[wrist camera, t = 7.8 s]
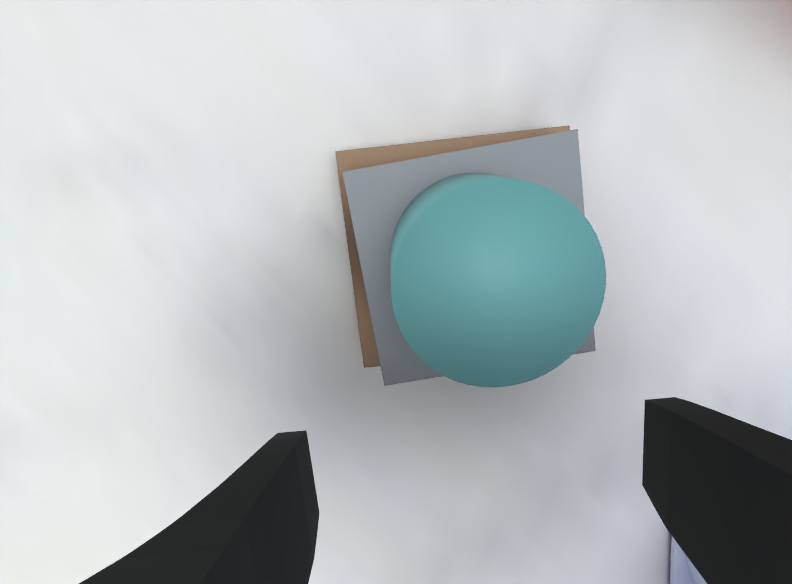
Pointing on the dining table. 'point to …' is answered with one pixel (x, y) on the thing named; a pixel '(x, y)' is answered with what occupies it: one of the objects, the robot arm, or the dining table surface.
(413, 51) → the dining table surface
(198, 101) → the dining table surface
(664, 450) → the robot arm
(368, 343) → the walnut slab
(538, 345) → the teal cylinder
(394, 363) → the grey flat square block
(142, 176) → the dining table surface
